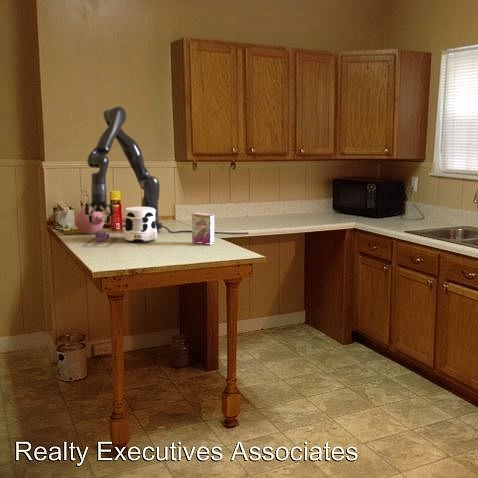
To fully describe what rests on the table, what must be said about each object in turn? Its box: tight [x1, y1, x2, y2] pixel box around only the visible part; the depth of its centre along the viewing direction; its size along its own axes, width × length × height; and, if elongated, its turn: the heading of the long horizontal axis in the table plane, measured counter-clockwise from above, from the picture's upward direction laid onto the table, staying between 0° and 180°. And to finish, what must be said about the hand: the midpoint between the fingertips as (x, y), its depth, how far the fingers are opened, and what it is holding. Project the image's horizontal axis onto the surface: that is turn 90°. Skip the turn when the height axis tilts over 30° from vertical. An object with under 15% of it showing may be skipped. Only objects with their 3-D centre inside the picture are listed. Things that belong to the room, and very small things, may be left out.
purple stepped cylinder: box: [94, 230, 107, 237], centre depth 321 cm, size 6×6×3 cm
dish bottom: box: [94, 236, 107, 243], centre depth 322 cm, size 6×6×3 cm
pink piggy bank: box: [74, 206, 105, 235], centre depth 340 cm, size 15×20×15 cm
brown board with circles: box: [90, 237, 112, 247], centre depth 322 cm, size 12×22×1 cm, turn 5°
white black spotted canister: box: [123, 206, 158, 244], centre depth 326 cm, size 17×17×18 cm
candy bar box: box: [191, 212, 215, 246], centre depth 325 cm, size 11×5×16 cm, turn 71°
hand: (99, 222), depth 320 cm, fingers open, 8 cm apart
